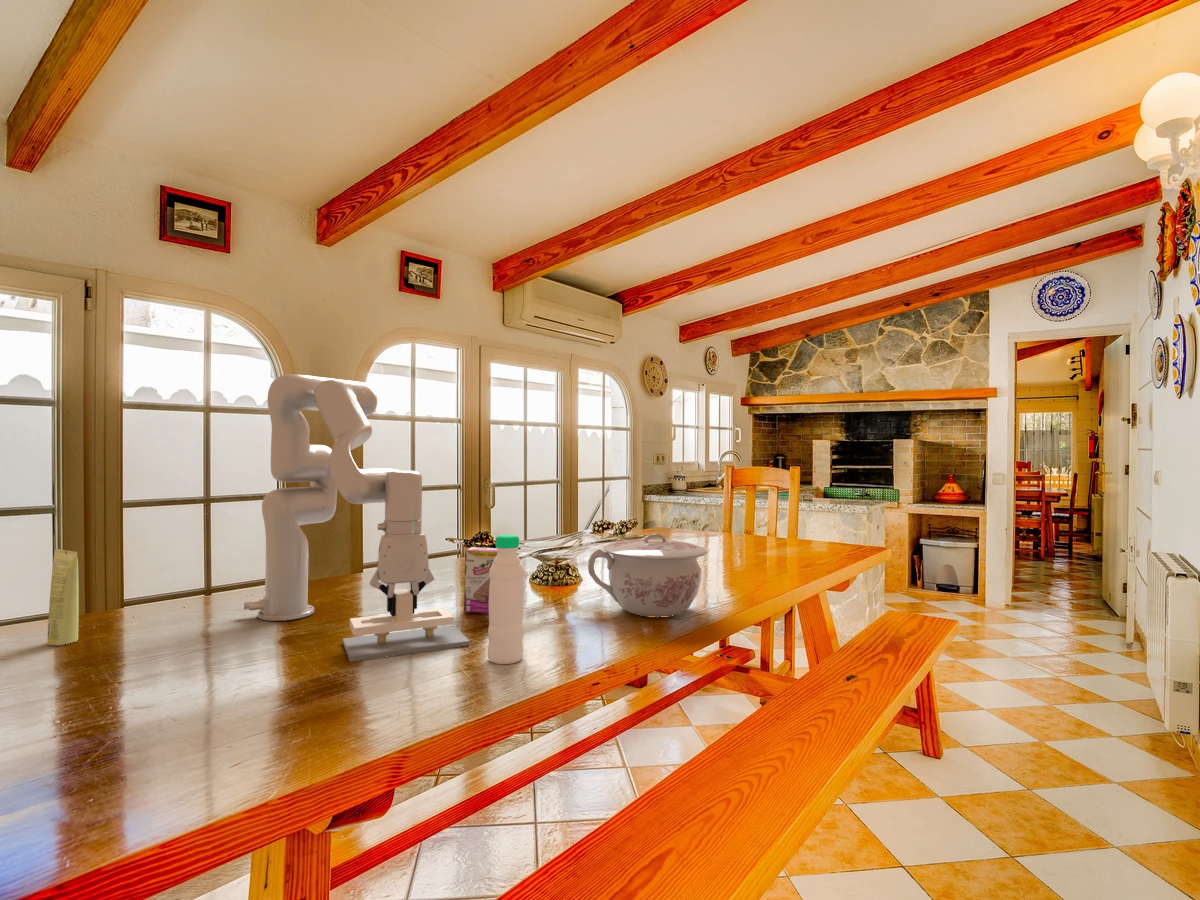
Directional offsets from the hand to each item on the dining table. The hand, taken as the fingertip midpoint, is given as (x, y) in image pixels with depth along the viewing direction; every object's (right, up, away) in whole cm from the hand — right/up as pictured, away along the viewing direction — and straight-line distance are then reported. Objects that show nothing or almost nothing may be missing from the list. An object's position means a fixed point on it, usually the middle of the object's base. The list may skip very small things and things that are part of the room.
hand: (402, 612), depth 133 cm
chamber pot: (+57, -8, +32) cm, 65 cm away
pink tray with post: (0, -3, 0) cm, 3 cm away
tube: (-70, -6, -3) cm, 71 cm away
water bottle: (+23, -8, -8) cm, 26 cm away
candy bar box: (+13, -7, +28) cm, 32 cm away
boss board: (+1, -7, 0) cm, 7 cm away
